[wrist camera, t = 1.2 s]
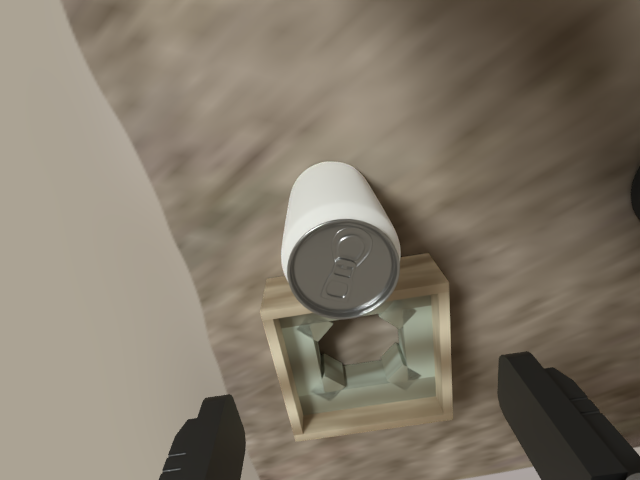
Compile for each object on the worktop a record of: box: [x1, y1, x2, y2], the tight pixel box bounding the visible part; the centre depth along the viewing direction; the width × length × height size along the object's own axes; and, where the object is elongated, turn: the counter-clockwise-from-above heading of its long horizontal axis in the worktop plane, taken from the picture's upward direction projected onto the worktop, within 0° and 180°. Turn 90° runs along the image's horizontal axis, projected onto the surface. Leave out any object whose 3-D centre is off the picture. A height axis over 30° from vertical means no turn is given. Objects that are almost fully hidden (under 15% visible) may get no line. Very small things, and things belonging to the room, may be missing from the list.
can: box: [281, 162, 401, 319], centre depth 24 cm, size 6×6×12 cm
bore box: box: [260, 253, 453, 442], centre depth 32 cm, size 14×14×5 cm
